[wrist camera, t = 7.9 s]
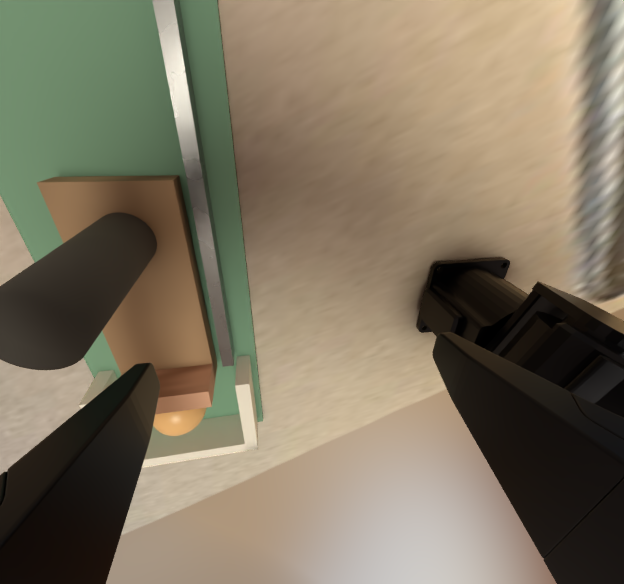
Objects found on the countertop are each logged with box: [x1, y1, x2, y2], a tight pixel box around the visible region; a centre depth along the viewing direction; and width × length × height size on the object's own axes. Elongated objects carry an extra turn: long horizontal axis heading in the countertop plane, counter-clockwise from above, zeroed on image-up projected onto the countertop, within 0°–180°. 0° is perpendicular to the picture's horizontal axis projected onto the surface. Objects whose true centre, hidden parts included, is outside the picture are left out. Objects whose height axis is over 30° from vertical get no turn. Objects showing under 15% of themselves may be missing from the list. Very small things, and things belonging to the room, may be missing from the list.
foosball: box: [153, 408, 206, 436], centre depth 22 cm, size 4×4×4 cm
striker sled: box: [0, 175, 217, 414], centre depth 15 cm, size 6×14×10 cm, turn 179°
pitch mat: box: [0, 0, 263, 422], centre depth 19 cm, size 12×32×1 cm, turn 179°
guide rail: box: [152, 0, 235, 367], centre depth 16 cm, size 1×24×2 cm, turn 0°
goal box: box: [79, 355, 258, 468], centre depth 23 cm, size 11×8×3 cm
